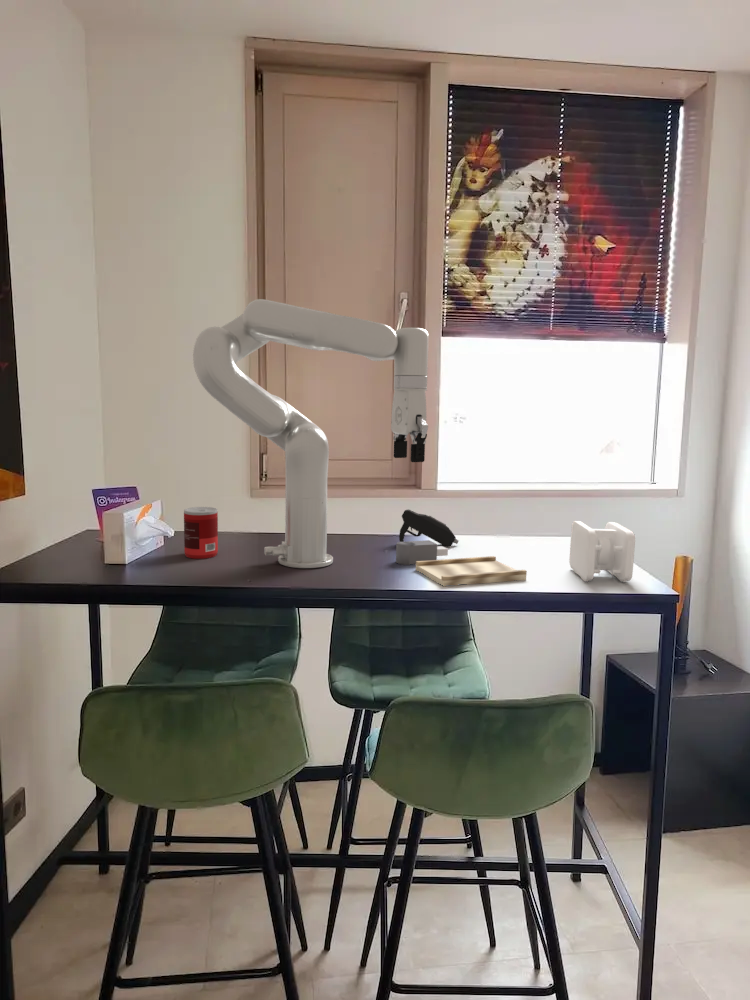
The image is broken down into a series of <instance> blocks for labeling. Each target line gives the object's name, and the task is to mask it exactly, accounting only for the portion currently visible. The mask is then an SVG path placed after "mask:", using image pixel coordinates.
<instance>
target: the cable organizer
mask: <svg viewBox="0 0 750 1000" xmlns="http://www.w3.org/2000/svg"><path fill="white" fill-rule="evenodd" d="M569 546H570V547H569V559H568V562H569V566H570V569H572V571H573V573H575V574H576V575H578V576H579V577H580V578H581V580H583V581H584V583H585V582H586V583H587V582H589V581H592V580H593V578H594V575H595V574H598V575H600V573H601V571H608V572H609V574H611V576H612V578H614V576H615V577H616V578H617V580H619V581H620V582H621V583H626V582H630V581H631V580H632V579H633V572H634V559H635V549H636V534H634V531H632V530H630V529H629V528H627V527H625V526H623V525H622V524H620V523H618V522H616V521H615V522H614V521H608V522H606V524H605V527H604V528H592V527H590V526H589V525H587V524H585V523H584V522H582V521H581V520H574V521H573V522H572V524H571V533H570V545H569Z"/></svg>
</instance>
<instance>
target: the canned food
mask: <svg viewBox="0 0 750 1000" xmlns="http://www.w3.org/2000/svg"><path fill="white" fill-rule="evenodd" d="M218 512H219V511H218V508H215V507H212V506H194V507H188V508H185V509H184V510H183V533H184V534H183V538H184V539H183V541H184V542H183V543H184V549H183V550H184V555H185V557H187V558H189V559H192V560H193V559H194V560H199V559H200V560H202V559H203V560H204V559H205V560H206V559H211V558H214V557H216V556H217V555H218V551H219V545H218V544H219V537H218V536H219V535H218V532H219V530H218V529H219V525H218V524H219V523H218V521H219V519H218V517H219V515H218Z"/></svg>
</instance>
